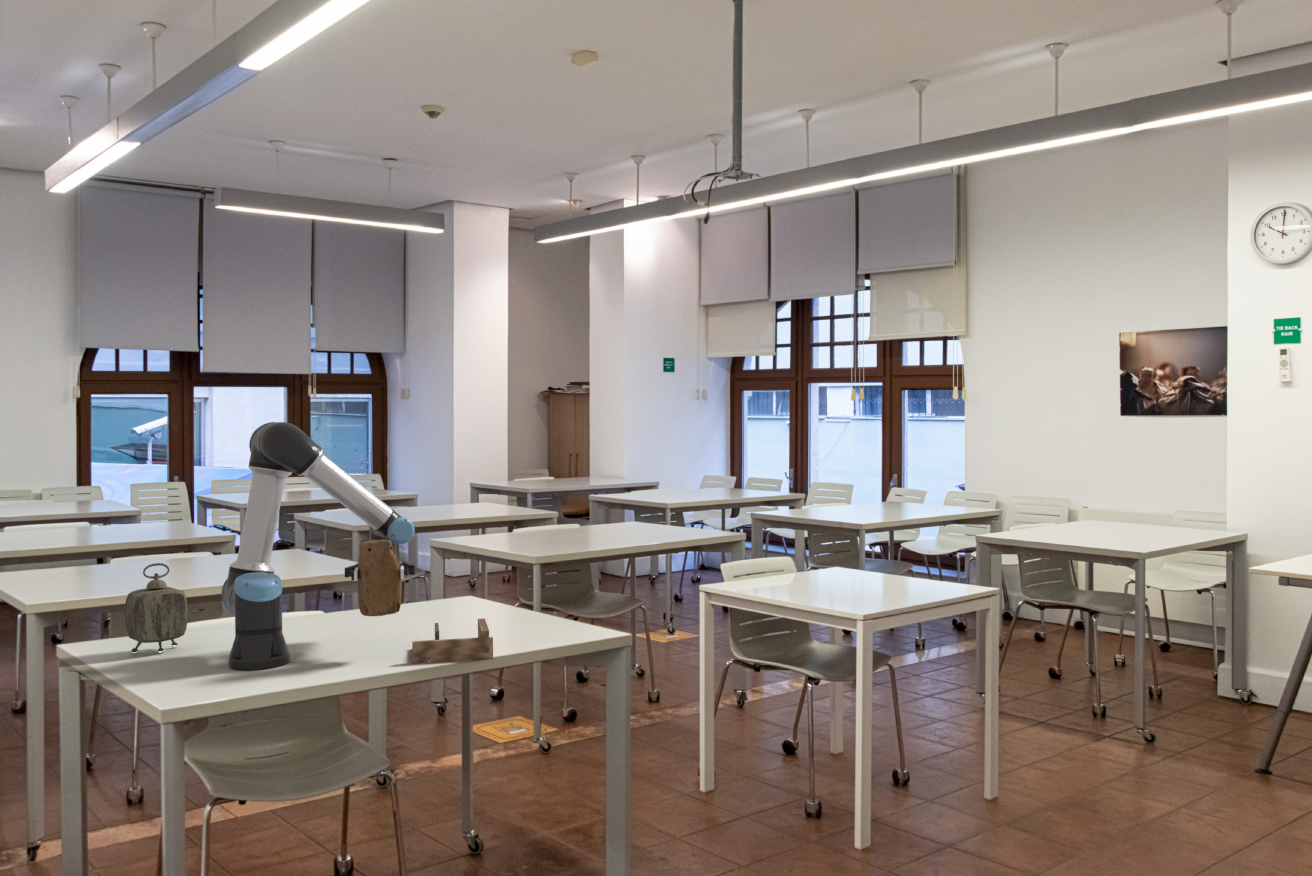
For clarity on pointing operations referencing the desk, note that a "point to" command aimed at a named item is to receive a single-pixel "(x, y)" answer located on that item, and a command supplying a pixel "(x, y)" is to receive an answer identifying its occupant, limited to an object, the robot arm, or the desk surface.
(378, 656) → the desk surface
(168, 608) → the tabletop clock
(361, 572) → the block
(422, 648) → the wooden holder
